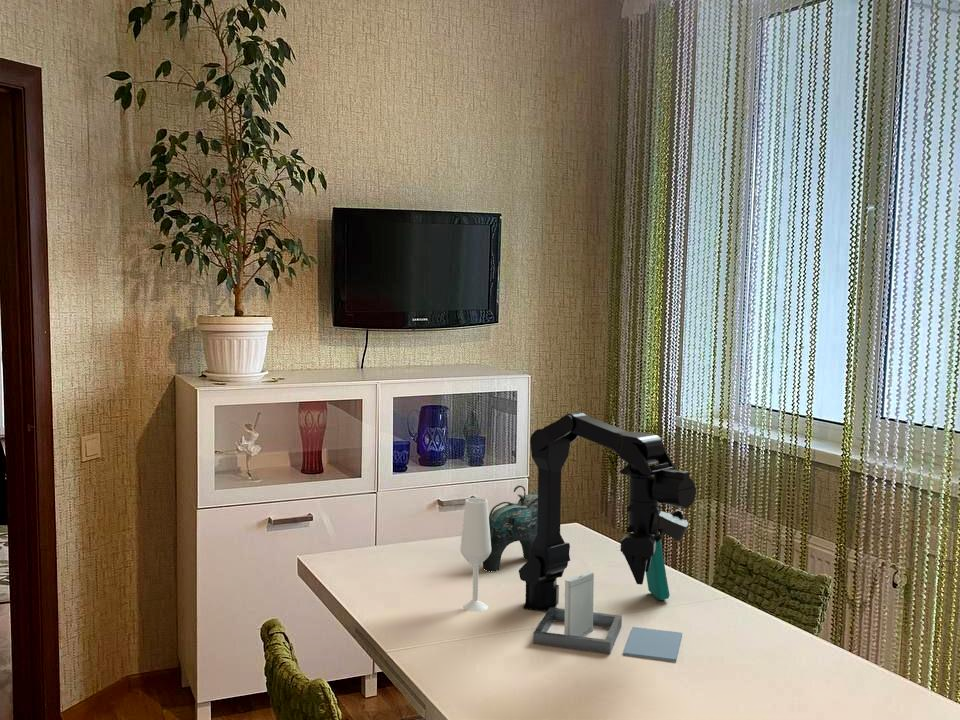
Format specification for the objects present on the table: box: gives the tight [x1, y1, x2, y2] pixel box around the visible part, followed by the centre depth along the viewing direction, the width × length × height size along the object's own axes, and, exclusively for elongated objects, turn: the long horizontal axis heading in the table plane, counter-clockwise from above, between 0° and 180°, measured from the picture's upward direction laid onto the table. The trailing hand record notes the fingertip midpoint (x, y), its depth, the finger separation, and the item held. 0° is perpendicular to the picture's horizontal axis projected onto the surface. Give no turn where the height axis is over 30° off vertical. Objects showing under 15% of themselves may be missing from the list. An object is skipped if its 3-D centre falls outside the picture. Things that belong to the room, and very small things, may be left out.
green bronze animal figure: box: [482, 485, 538, 573], centre depth 236 cm, size 20×6×20 cm, turn 133°
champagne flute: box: [459, 497, 491, 612], centre depth 205 cm, size 7×7×24 cm
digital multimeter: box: [645, 538, 670, 601], centre depth 214 cm, size 7×15×3 cm
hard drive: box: [563, 571, 595, 637], centre depth 190 cm, size 2×8×12 cm, turn 138°
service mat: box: [622, 626, 683, 663], centre depth 187 cm, size 10×14×1 cm
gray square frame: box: [532, 607, 623, 655], centre depth 191 cm, size 15×15×2 cm
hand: (642, 577), depth 186 cm, fingers open, 8 cm apart
